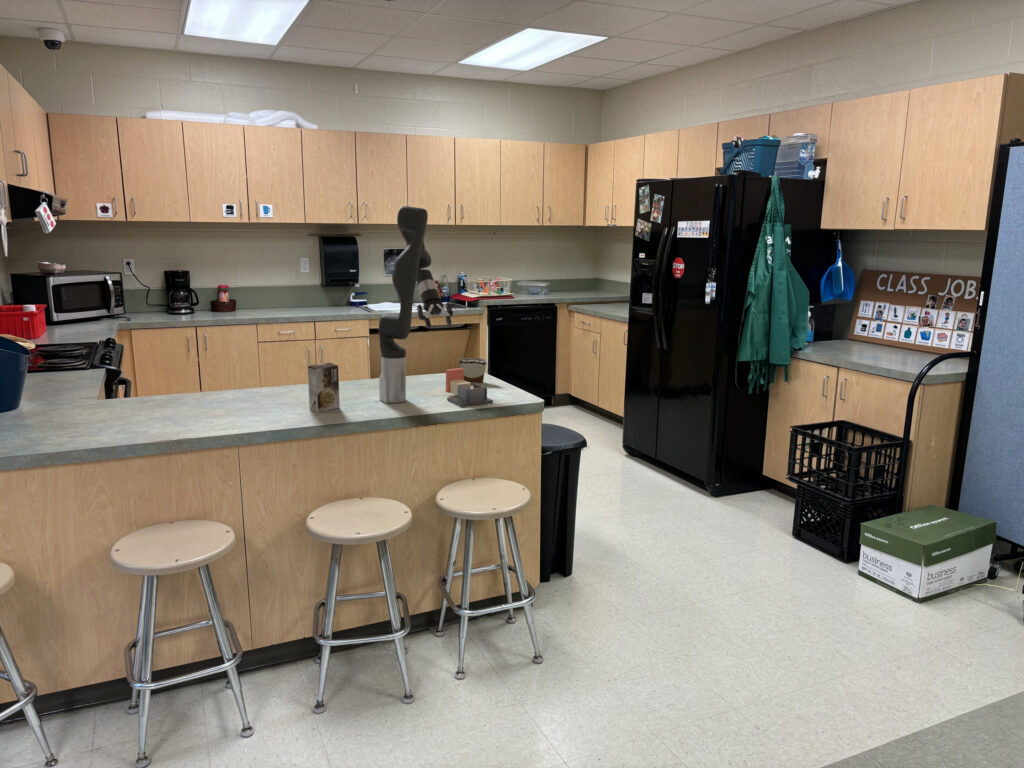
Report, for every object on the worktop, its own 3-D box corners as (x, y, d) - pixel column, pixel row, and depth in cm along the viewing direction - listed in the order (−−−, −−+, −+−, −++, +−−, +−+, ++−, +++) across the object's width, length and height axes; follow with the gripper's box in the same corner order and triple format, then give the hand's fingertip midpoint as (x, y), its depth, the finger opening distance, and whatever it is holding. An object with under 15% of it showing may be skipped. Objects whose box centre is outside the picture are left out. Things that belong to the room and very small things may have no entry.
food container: (488, 380, 310) (488, 358, 307) (486, 383, 304) (486, 361, 301) (460, 379, 311) (460, 356, 308) (458, 382, 305) (458, 359, 303)
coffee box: (330, 404, 263) (329, 362, 259) (340, 408, 259) (339, 365, 255) (308, 408, 257) (307, 365, 253) (317, 412, 252) (316, 368, 249)
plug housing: (461, 407, 265) (461, 390, 264) (447, 400, 274) (447, 384, 273) (492, 403, 273) (493, 386, 272) (477, 396, 282) (478, 380, 280)
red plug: (456, 396, 274) (457, 374, 272) (445, 391, 282) (445, 369, 280) (472, 394, 278) (472, 372, 276) (460, 389, 286) (461, 368, 283)
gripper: (414, 289, 288) (425, 323, 282) (447, 286, 294) (458, 319, 288) (410, 299, 294) (421, 332, 288) (442, 297, 300) (453, 329, 294)
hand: (439, 326), depth 288 cm, fingers open, 8 cm apart
